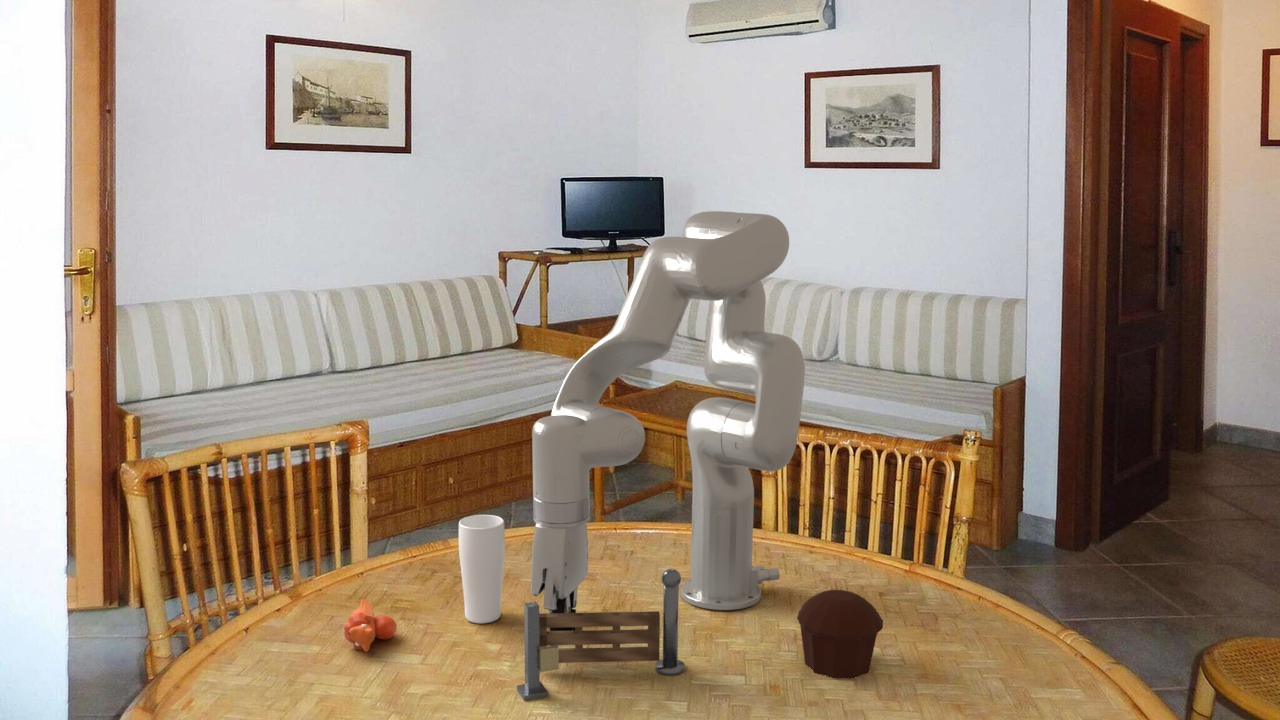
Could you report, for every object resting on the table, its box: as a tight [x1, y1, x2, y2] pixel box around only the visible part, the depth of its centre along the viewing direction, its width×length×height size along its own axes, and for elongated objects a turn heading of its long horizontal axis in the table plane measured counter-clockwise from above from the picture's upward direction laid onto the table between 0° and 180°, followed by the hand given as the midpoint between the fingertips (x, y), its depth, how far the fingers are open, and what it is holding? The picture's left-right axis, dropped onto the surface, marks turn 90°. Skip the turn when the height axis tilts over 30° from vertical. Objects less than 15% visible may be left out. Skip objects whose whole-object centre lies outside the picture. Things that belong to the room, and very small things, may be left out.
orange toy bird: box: [343, 599, 397, 653], centre depth 163 cm, size 5×8×12 cm
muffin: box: [796, 589, 884, 679], centre depth 156 cm, size 12×11×10 cm
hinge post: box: [654, 568, 686, 677], centre depth 153 cm, size 4×4×14 cm
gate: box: [539, 610, 661, 664], centre depth 153 cm, size 16×1×6 cm, turn 94°
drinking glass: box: [457, 514, 506, 624], centre depth 170 cm, size 7×7×15 cm
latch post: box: [516, 601, 560, 701], centre depth 146 cm, size 5×3×12 cm
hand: (563, 637), depth 156 cm, fingers closed
